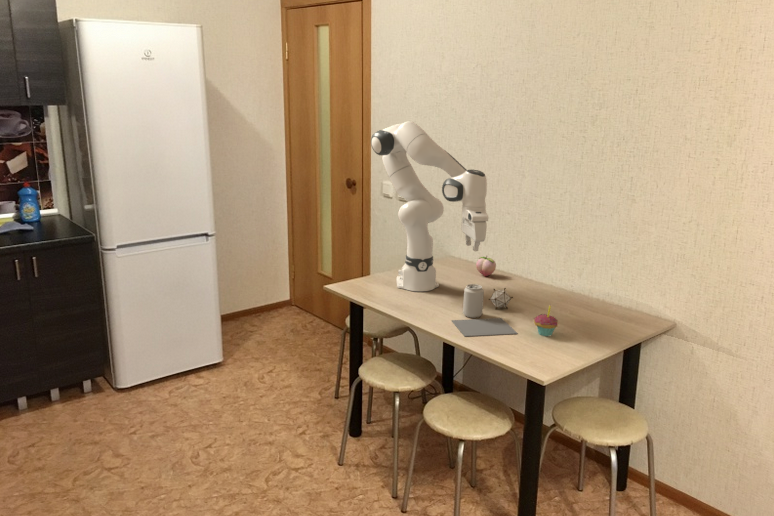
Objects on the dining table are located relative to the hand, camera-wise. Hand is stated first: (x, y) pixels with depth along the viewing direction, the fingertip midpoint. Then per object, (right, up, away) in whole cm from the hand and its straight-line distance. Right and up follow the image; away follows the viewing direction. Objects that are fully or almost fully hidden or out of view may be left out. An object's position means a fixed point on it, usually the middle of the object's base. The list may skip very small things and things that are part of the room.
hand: (471, 248), depth 253 cm
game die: (+13, -24, +10) cm, 29 cm away
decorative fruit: (+13, -13, +53) cm, 56 cm away
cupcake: (+24, -32, -17) cm, 43 cm away
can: (0, -26, 0) cm, 26 cm away
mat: (+3, -29, -12) cm, 32 cm away
